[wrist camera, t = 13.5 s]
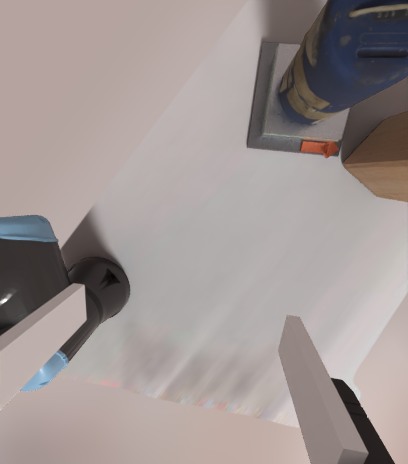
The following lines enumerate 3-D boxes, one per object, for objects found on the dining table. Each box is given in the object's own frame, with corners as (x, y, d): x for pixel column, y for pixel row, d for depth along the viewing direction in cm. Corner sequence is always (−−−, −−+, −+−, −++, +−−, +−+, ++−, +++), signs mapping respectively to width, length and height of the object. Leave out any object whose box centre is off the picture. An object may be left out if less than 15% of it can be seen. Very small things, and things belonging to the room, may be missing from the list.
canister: (291, 47, 31) (373, -110, 14) (354, 65, 31) (516, -69, 14) (267, 117, 34) (309, 59, 17) (325, 135, 34) (428, 95, 16)
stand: (246, 151, 40) (249, 148, 35) (262, 45, 35) (267, 25, 31) (334, 159, 39) (349, 157, 34) (362, 51, 34) (384, 32, 30)
